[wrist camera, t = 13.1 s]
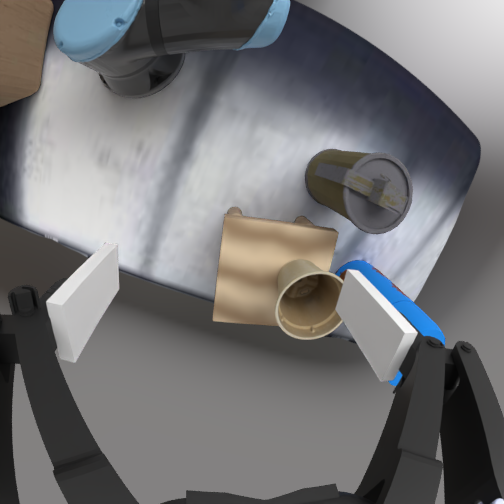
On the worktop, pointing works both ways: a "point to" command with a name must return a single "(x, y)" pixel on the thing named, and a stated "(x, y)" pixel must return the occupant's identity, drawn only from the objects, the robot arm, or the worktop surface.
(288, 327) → the flower pot
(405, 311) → the thermos
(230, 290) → the footstool
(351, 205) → the canister
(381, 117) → the worktop surface
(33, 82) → the block
